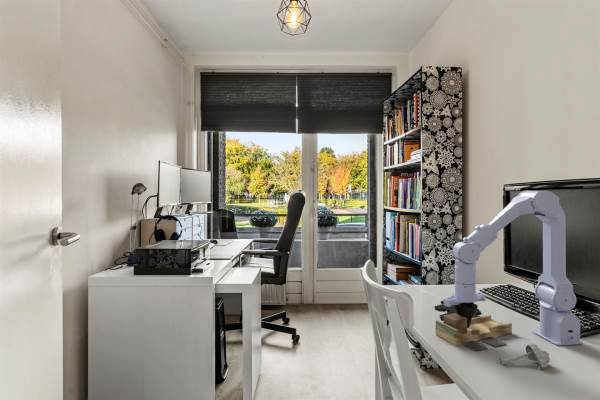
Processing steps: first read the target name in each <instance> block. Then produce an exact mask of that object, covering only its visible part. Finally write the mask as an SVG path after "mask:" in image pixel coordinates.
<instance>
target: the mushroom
mask: <svg viewBox="0 0 600 400" xmlns="http://www.w3.org/2000/svg"><path fill="white" fill-rule="evenodd" d="M498 360H499V361H498V362H499V364H501V365H503V366H504V365H505V364H507V363H511V362H515V361H520V360H523V361H527V362H530V363H533V365H535V364H536V365H538V366H536V367H537V368H538V369H540V370H542V369H543V370H544V369H546V368H548V365H549V363H550V361H551V359H550V354H549V353H548V352H547V351H546V350H543V349H542V348H540V347H539V346H538V345H537V344H535V343H528V344H527V345H526V346H525V353H523V354H519V355H517V356H514V357H508V358H502V357H499V358H498ZM534 363H535V364H534Z"/></svg>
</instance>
